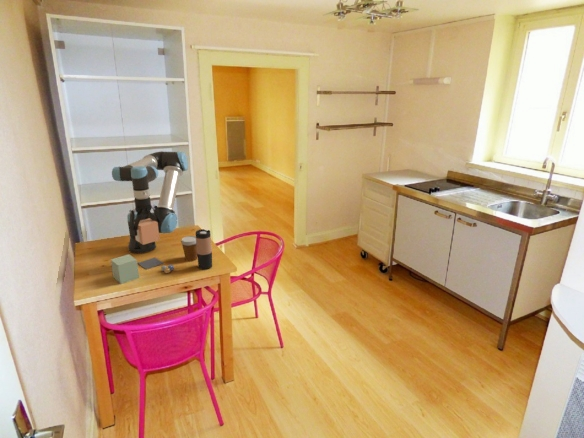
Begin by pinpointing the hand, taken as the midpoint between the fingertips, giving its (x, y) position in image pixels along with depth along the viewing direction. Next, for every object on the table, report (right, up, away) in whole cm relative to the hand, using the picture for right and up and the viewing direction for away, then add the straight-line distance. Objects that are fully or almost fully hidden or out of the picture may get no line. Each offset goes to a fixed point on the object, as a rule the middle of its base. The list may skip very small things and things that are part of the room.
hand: (147, 238), depth 196 cm
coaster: (0, -14, +5) cm, 15 cm away
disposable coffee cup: (+20, -12, +11) cm, 26 cm away
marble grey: (+10, -17, -3) cm, 20 cm away
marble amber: (+12, -18, -5) cm, 22 cm away
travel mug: (+30, -15, +2) cm, 34 cm away
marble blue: (+13, -17, -2) cm, 21 cm away
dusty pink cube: (0, -1, 0) cm, 1 cm away
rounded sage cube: (-6, -19, -11) cm, 23 cm away
